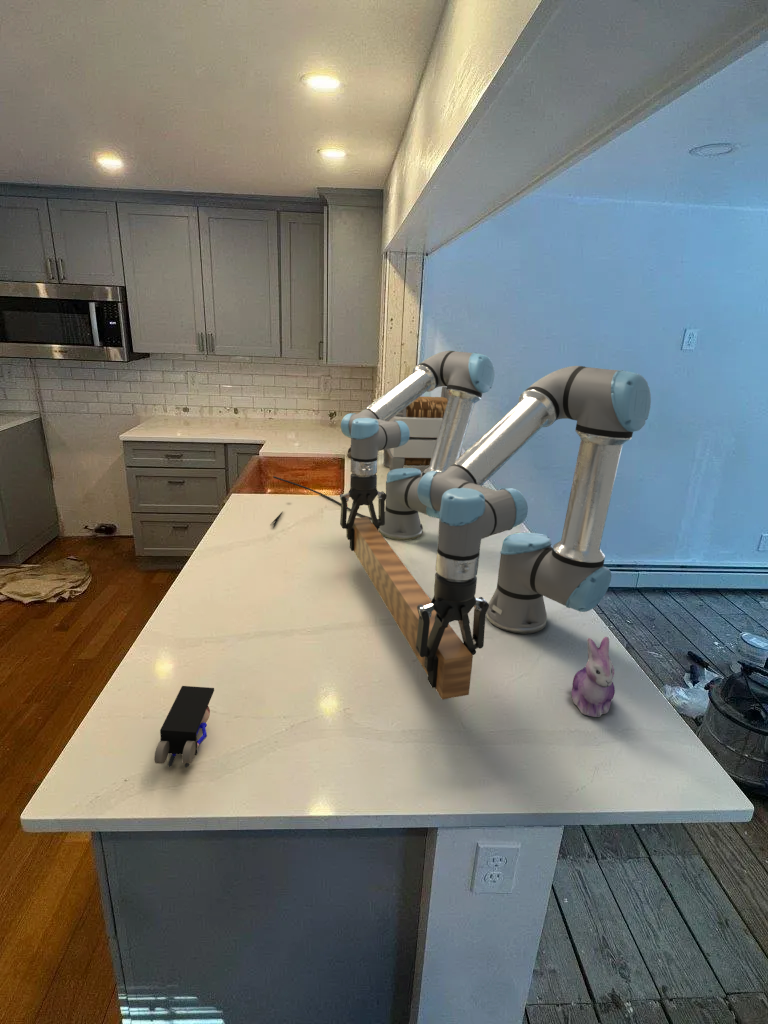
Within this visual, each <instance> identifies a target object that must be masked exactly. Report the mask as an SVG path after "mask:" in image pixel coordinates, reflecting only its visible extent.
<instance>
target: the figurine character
mask: <svg viewBox="0 0 768 1024" xmlns="http://www.w3.org/2000/svg"><path fill="white" fill-rule="evenodd" d="M214 692H215V687H206V686H194V685H193V686H189V685H182V686H181V687H180V689H179V691H178V693H177V695H176V697H175V698H174V701H173V704H172V705H171V707H170V709H169V712H168V714H167V716H166V718H165V719H164V721H163V723H162V726H161V728H160V729H159V733H160V740H159V742H158V743H157V745H156V748H155V751H154V757H153V758H154V763H155V764H160V765H165V763H166V762H167V759H168V757H169V755H170V757H169V759H168V762H167V767H168V768H171V767H173V765H174V762H175V759H176V757H177V755H181V762H182V764H184V767H185V768H188V767H189V766H190V764H192V763H193V762H194V760H195V756H197V755H198V748H199V746H200V744H202V742H203V741H204V740H205V739H206V738H207V737H208V734H207V729H206V728H207V727H208V723H207V722H208V721H209V719H210V716H211V710H210V707H209V705H210V702H211V700H212V697H213V694H214ZM200 729H201V732H202V735H201V736H200V737H199V738H198V735H199V731H200Z"/></svg>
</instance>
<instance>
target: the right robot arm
mask: <svg viewBox="0 0 768 1024" xmlns="http://www.w3.org/2000/svg"><path fill="white" fill-rule="evenodd" d="M650 388H651V387H650V385H649V383H648V381H647V379H646V378H645V377H644V376H643V375H642V374H640V373H637V372H631V371H626V370H623V369H621V370H620V369H609V368H608V369H607V368H598V367H590V366H584V365H572V366H571V365H570V366H567V367H562V368H559V369H557V370H555V371H551V372H550V373H548V374H546V375H544V376H542V377H541V378H539V379H538V380H536V381H535V382H533V383H532V384H531V385H530V386H529V387H528V388H526V389H525V390H524V391H523V392H521V394H520V395H519V396H518V402H517V403H516V404H515V405H514V406H513V407H512V408H511V409H510V410H509V411H508V412H507V413H505V415H503V416H502V417H501V418H500V419H499V420H498V421H497V422H496V423H495V424H494V425H492V427H490V429H488V430H487V431H486V432H485V433H483V435H482V436H481V437H479V439H478V440H477V441H475V442H474V443H473V444H471V446H470V447H469V448H468V449H467V450H465V451H464V452H463V453H462V454H461V456H460V457H459V458H458V459H457V460H456V461H455V462H454V463H453V464H452V465H451V466H450V467H448V468H447V469H446V470H445V471H444V472H443V473H441V472H440V471H430V472H427V473H426V474H424V475H423V477H422V478H421V480H420V481H419V484H418V488H417V494H418V498H419V500H420V502H421V503H422V504H424V505H426V506H427V507H429V508H431V509H433V510H435V511H439V518H438V534H437V535H438V536H437V550H436V560H435V574H434V586H433V587H434V588H433V597H432V599H431V603H430V604H428V605H425V606H423V605H422V604H420V605H418V606H417V610H418V613H419V622H418V631H417V640H416V650H417V652H418V653H419V655H420V656H421V657H425V662H424V666H425V668H426V670H427V672H428V675H427V678H426V680H427V682H428V683H429V685H430V687H431V688H432V689H435V688H436V682H437V670H438V657H437V656H436V652H437V649H438V646H439V644H440V641H441V639H442V636H443V633H444V631H445V628H447V627H448V624H449V625H450V623H451V622H454V621H456V622H458V625H459V630H460V634H461V640H462V642H463V643H464V645H465V646H466V647H467V649H468V650H469V651H470V653H471V654H472V655H473V656H474V655H476V654H477V649H478V650H479V649H483V647H484V643H485V630H486V629H485V627H486V618H487V620H488V622H490V624H492V625H493V626H495V627H496V628H499V629H500V630H502V631H505V632H508V633H509V632H510V633H515V634H522V635H525V634H526V635H527V634H535V633H539V632H540V631H543V629H544V628H545V627H546V625H547V620H548V615H547V614H548V613H547V608H546V604H545V599H544V597H545V598H547V599H549V600H552V601H554V602H556V603H558V604H560V605H563V606H565V607H566V608H568V609H573V610H575V611H577V612H580V613H586V612H590V611H591V610H593V609H594V608H596V606H598V605H599V603H600V602H601V601H602V600H603V598H604V597H605V595H606V593H607V592H608V589H609V587H610V584H611V581H612V572H611V571H612V570H610V569H609V568H608V566H604V565H605V559H606V555H605V553H604V552H603V550H602V549H601V545H602V541H603V536H604V531H605V527H606V521H607V517H608V513H609V508H610V504H611V499H612V495H613V491H614V486H615V480H616V477H617V471H618V467H619V462H620V458H621V453H622V449H623V446H624V444H626V443H627V442H629V441H630V440H632V438H633V434H634V432H635V433H636V432H638V431H640V430H642V429H643V428H644V426H645V425H646V421H647V420H648V418H649V416H650V411H651V403H652V394H651V389H650ZM563 419H565V420H566V419H569V420H572V421H576V424H575V432H576V434H577V436H578V437H579V438H580V441H579V447H578V451H577V457H576V462H575V467H574V472H573V477H572V483H571V488H570V493H569V497H568V503H567V507H566V508H567V509H566V513H565V517H564V518H565V519H564V522H563V523H564V524H563V527H562V528H563V529H562V534H561V538H560V540H559V541H558V542H556V543H554V544H553V543H552V539H551V538H550V537H549V536H548V535H546V534H542V533H537V532H516V533H512V534H509V535H507V536H506V537H505V538H504V539H503V541H502V546H501V550H500V551H499V553H500V557H499V566H498V574H497V582H496V589H495V590H494V592H493V594H492V596H491V598H490V600H489V602H488V601H487V600H486V599H485V598H484V597H483V596H480V597H478V598H477V597H476V594H477V593H476V591H477V583H478V577H477V575H478V573H479V562H480V551H481V545H482V544H481V543H482V539H485V538H489V537H491V536H493V535H497V534H500V533H503V532H506V531H511V530H512V529H513V528H515V527H518V526H520V525H521V524H523V523H524V522H525V521H526V518H527V517H528V511H529V506H528V502H527V500H526V497H525V496H524V495H523V493H522V492H521V491H520V490H518V489H516V488H512V487H510V488H509V487H508V488H500V489H498V490H495V489H492V488H489V487H486V486H483V485H485V483H487V481H489V479H490V478H492V477H493V476H494V475H495V474H496V473H497V472H498V471H499V470H500V469H501V468H502V467H503V466H504V465H505V464H506V463H507V462H508V461H509V460H511V458H513V457H514V455H515V454H516V453H517V452H519V451H520V449H522V448H523V447H524V446H526V444H527V443H528V442H529V441H530V440H531V439H532V438H533V437H534V436H535V435H536V434H537V433H538V432H539V431H540V430H541V429H543V428H548V427H551V426H552V425H553V424H554V423H555V422H556V421H559V420H563ZM552 544H553V545H552ZM472 609H473V621H472V622H473V623H472V630H471V626H470V617H469V613H470V612H471V611H472ZM433 610H435V611H436V615H435V622H434V625H433V627H432V630H431V633H430V635H429V638H428V634H429V626H430V619H429V618H431V615H432V611H433Z"/></svg>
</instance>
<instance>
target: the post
mask: <svg viewBox="0 0 768 1024" xmlns="http://www.w3.org/2000/svg"><path fill="white" fill-rule="evenodd" d="M368 517H369V516H368ZM368 517H362V516H360V517H356V518H355V521H354V524H353V529H354V551H353V553H354V555H355V557H356V558H357V559H358V560H357V561H359V564H361V566H362V568H363V570H364V571H365V573H366V575H367V577H368V578H369V580H370V581H371V583H372V584H373V586H374V588H375V590H376V591H377V594H378V595H379V597H380V599H381V600H382V602H383V603H384V605H385V606H386V608H387V611H389V613H390V615H391V617H392V618H393V620H394V622H395V624H396V625H397V627H398V628H399V630H400V632H401V633H402V636H403V637H404V638H405V640H406V642H407V643H408V645H409V647H410V649H411V650H412V652H413V654H414V655H415V657H416V658H417V660H418V662H419V663H420V665H421V667H422V668H423V670H424V672H425V674H426V676H428V672H427V670H426V668H425V666H424V662H425V657H421V656H420V655H419V653H418V652H417V650H416V640H417V631H418V622H419V613H418V610H417V606H418V605H420V604H422V605H423V606H425V605H428V604H430V603H431V601H432V599H431V598H430V597H429V595H428V594H427V593H426V592H425V590H424V589H423V587H422V586H421V585H420V584H419V582H418V580H416V579H415V577H414V576H413V574H412V573H411V571H409V569H408V568H407V566H406V565H405V563H403V561H402V560H401V559H400V557H399V556H398V554H397V553H396V552H395V551H394V549H393V548H392V547H391V546H390V544H389V543H388V541H387V539H385V537H384V536H383V535H381V534H380V532H379V529H378V530H377V528H376V527H375V526H374V524H373V523H372V520H371V519H369V518H368ZM435 615H436V611H435V610H433V611H432V615H431V618H429V619H430V626H429V634H428V638H429V635H430V633H431V630H432V627H433V625H434V622H435ZM436 656H437V657H438V670H437V682H436V688H434V689H435V691H436V692H437V694H438V696H439V697H440V699H441V700H447V699H454V698H459V697H465V696H469V695H470V689H471V688H470V687H471V677H472V668H473V657H474V655H472V654H471V653H470V651H469V650H468V649H467V647H466V646H465V645H464V643H463V640H462V638H460V637H459V635H458V634H457V633H456V631H455V630H454V629H453V627H452V626H451V625H450V623H449V624H448V627H447V628H445V631H444V633H443V636H442V639H441V641H440V644H439V646H438V649H437V652H436Z"/></svg>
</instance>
